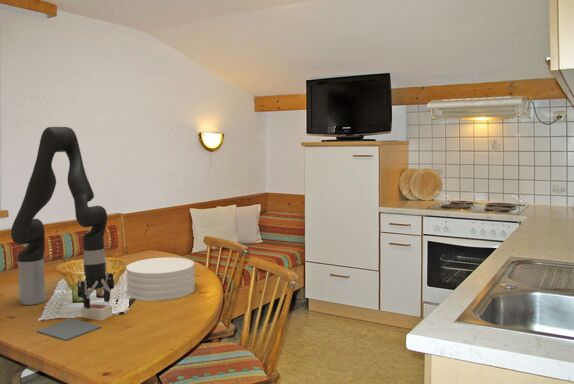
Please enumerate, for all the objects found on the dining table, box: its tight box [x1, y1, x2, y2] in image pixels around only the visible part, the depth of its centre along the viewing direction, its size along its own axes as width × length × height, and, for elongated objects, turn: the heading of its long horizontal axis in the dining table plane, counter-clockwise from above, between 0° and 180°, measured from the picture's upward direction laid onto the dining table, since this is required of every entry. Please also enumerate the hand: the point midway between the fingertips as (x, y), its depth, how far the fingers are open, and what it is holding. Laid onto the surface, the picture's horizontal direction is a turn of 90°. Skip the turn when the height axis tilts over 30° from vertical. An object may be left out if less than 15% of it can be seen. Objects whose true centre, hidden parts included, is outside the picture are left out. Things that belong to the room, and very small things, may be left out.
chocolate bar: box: [112, 298, 136, 316], centre depth 207 cm, size 9×1×18 cm
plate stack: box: [125, 256, 196, 302], centre depth 228 cm, size 28×28×12 cm
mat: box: [35, 318, 103, 342], centre depth 183 cm, size 16×14×1 cm
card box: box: [81, 302, 113, 321], centre depth 197 cm, size 9×6×4 cm, turn 66°
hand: (97, 304), depth 196 cm, fingers open, 8 cm apart
